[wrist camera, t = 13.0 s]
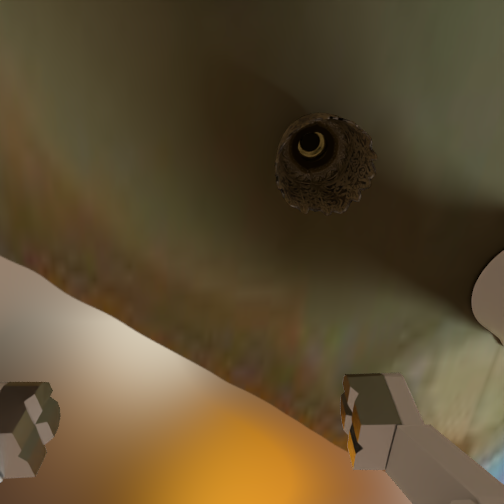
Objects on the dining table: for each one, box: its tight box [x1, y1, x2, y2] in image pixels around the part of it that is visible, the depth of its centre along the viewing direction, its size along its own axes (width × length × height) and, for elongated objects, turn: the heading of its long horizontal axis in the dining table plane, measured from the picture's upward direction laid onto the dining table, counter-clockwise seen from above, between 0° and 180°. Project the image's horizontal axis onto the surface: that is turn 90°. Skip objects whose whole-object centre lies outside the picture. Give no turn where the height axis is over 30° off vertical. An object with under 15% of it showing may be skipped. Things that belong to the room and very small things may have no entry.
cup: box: [275, 113, 377, 216], centre depth 32 cm, size 8×7×8 cm
